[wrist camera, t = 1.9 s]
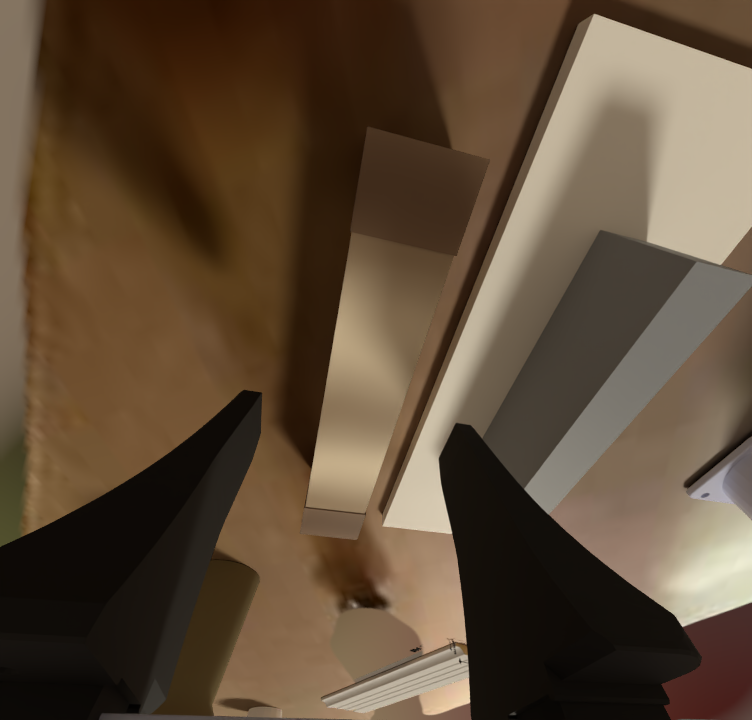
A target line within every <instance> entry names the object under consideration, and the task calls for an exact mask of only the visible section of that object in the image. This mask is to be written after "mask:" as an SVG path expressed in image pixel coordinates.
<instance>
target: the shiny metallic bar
mask: <svg viewBox="0 0 752 720" xmlns="http://www.w3.org/2000/svg"><path fill="white" fill-rule="evenodd" d="M489 162H490V160H489V159H486V158H482V157H478V156H475V155H471V154H467V153H464V152H460V151H456V150H453V149H449V148H445V147H442V146H438V145H434V144H431V143H427V142H423V141H420V140H416V139H412V138H409V137H405V136H401V135H398V134H394V133H390V132H387V131H383V130H379V129H376V128H372V127H368V126H367V132H366V138H365V144H364V150H363V156H362V162H361V168H360V174H359V180H358V186H357V192H356V198H355V204H354V210H353V216H352V222H351V228H350V232H352V234H351V240H350V246H349V252H348V258H347V263H346V269H345V275H344V281H343V287H342V293H341V299H340V305H339V311H338V317H337V323H336V329H335V335H334V341H333V346H332V352H331V358H330V364H329V370H328V376H327V382H326V388H325V394H324V400H323V406H322V412H321V418H320V424H319V429H318V435H317V441H316V447H315V453H314V459H313V464H312V470H311V475H310V480H309V485H308V491H307V496H306V501H305V506H304V512H303V518H302V524H301V530H300V534H306V535H316V536H326V537H335V538H345V539H354V540H357V538H358V535H359V533H360V530H361V527H362V524H363V521H364V518H365V515H366V509H367V506H368V503H369V500H370V497H371V494H372V492H373V489H374V486H375V483H376V480H377V477H378V474H379V471H380V468H381V466H382V463H383V460H384V457H385V454H386V451H387V448H388V445H389V442H390V440H391V437H392V434H393V431H394V428H395V425H396V422H397V419H398V416H399V414H400V411H401V408H402V405H403V402H404V399H405V396H406V393H407V390H408V388H409V385H410V382H411V379H412V376H413V373H414V370H415V367H416V365H417V362H418V359H419V356H420V353H421V350H422V347H423V344H424V341H425V339H426V336H427V333H428V330H429V327H430V324H431V321H432V318H433V315H434V313H435V310H436V307H437V304H438V301H439V298H440V295H441V292H442V289H443V287H444V284H445V281H446V278H447V275H448V272H449V269H450V266H451V263H452V261H453V258H454V256H457V253H458V250H459V247H460V244H461V241H462V239H463V236H464V233H465V230H466V227H467V224H468V221H469V219H470V216H471V213H472V210H473V207H474V204H475V202H476V199H477V196H478V193H479V190H480V187H481V184H482V182H483V179H484V176H485V173H486V170H487V167H488V164H489Z"/></svg>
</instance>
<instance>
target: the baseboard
mask: <svg viewBox="0 0 752 720" xmlns="http://www.w3.org/2000/svg"><path fill="white" fill-rule="evenodd" d="M452 642H453V641H452ZM420 647H422V645H421V646H420ZM419 650H421V648H418V647H416V649H412V650H410V651H412V652H416V651H419ZM467 678H469V668H468V652H467V646H466V645H463V644H459V643H453V644H450V645H448V646H446V647H443V648H441V649H439V650H436V651H434V652H431V653H429V654H426V655H424V656H423V651H421V652H418V653H416V654H413V655H411V656H409V657H406V658H404V659H402V660H400V661H397V662H395V663H392V664H390V665H387V666H385V667H383V668H380V669H378V670H376V671H373V672H371V673H368V674H366V675H364V676H361V677H359V678H357V679H354V682H355V683H356V684H354V685H351V686H349V687H347V688H344V689H342V690H339V691H337V692H334V693H332V694H330V695H327V696H325V697H322V698H321V701H324V702H325V704H326V706H327V707H329V708H332V707H334V708H337V709H345V710H353V711H354V712H360V713H366V712H369V711H372V710H375V709H377V708H381V707H383V706H386V705H389V704H392V703H395V702H398V701H401V700H404V699H407V698H410V697H413V696H416V695H419V694H422V693H425V692H428V691H431V690H434V689H437V688H440V687H443V686H446V685H449V684H452V683H455V682H458V681H461V680H464V679H467Z"/></svg>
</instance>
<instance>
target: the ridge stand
mask: <svg viewBox="0 0 752 720" xmlns="http://www.w3.org/2000/svg"><path fill="white" fill-rule="evenodd" d="M751 227H752V69H751V68H748V67H745V66H742V65H739V64H736V63H733V62H731V61H728V60H725V59H722V58H719V57H716V56H713V55H711V54H708V53H705V52H702V51H699V50H696V49H693V48H691V47H688V46H685V45H682V44H679V43H676V42H673V41H671V40H668V39H665V38H662V37H659V36H656V35H653V34H651V33H648V32H645V31H642V30H639V29H636V28H633V27H631V26H628V25H625V24H622V23H619V22H616V21H613V20H611V19H608V18H605V17H602V16H599V15H596V14H593V15H591V16H590V17H588V18H587V19H585V20H584V21H582V22H580V23H579V24H578V26H577V28H576V31H575V33H574V36H573V38H572V41H571V43H570V46H569V49H568V51H567V54H566V56H565V59H564V61H563V64H562V66H561V69H560V71H559V74H558V76H557V79H556V81H555V84H554V86H553V89H552V91H551V94H550V96H549V99H548V101H547V104H546V106H545V109H544V111H543V114H542V116H541V119H540V121H539V124H538V126H537V129H536V131H535V134H534V136H533V139H532V141H531V144H530V146H529V149H528V151H527V154H526V156H525V159H524V161H523V164H522V166H521V169H520V171H519V174H518V176H517V179H516V181H515V184H514V186H513V189H512V191H511V194H510V196H509V199H508V201H507V204H506V206H505V209H504V211H503V214H502V216H501V219H500V221H499V224H498V226H497V229H496V231H495V234H494V236H493V239H492V241H491V244H490V246H489V249H488V251H487V254H486V256H485V259H484V261H483V264H482V266H481V269H480V271H479V274H478V276H477V279H476V281H475V284H474V286H473V289H472V291H471V294H470V296H469V299H468V301H467V304H466V307H465V309H464V312H463V314H462V317H461V319H460V322H459V324H458V327H457V329H456V332H455V334H454V337H453V339H452V342H451V344H450V347H449V349H448V352H447V354H446V357H445V359H444V362H443V364H442V367H441V369H440V372H439V374H438V377H437V379H436V382H435V384H434V387H433V389H432V392H431V394H430V397H429V399H428V402H427V404H426V407H425V409H424V412H423V414H422V417H421V419H420V422H419V424H418V427H417V429H416V432H415V434H414V437H413V439H412V442H411V444H410V447H409V449H408V452H407V454H406V457H405V459H404V462H403V464H402V467H401V469H400V472H399V474H398V477H397V479H396V482H395V484H394V487H393V489H392V492H391V494H390V497H389V499H388V502H387V504H386V507H385V509H384V512H383V514H382V526H386V527H395V528H404V529H413V530H422V531H431V532H440V533H449V534H452V530H451V526H450V522H449V517H448V513H447V509H446V504H445V500H444V496H443V491H442V486H441V479H440V470H439V456H440V454H441V452H442V450H443V448H444V446H445V444H446V442H447V440H448V438H449V436H450V434H451V432H452V430H453V427H454V425H455V423H461V424H467V425H471V426H472V427H473V428H474V429H475V430H476V432H477V433H478V434H479V435H480V437H481V438H482V439H483V440H484V442H485V443H486V444H487V445H488V447H489V448H490V449H491V450H492V452H493V453H494V454H495V455H496V457H497V458H498V459H499V460H500V462H501V463H502V464H503V465H504V466H505V468H506V469H507V470H508V471H509V472H510V474H511V475H512V476H513V477H514V478H515V479H516V481H517V482H518V483H519V484H520V485H521V486H522V487H523V488H524V490H525V491H526V492H527V493H528V494H529V495H530V496H531V497H532V498H533V499H534V500H535V501H536V503H537V504H538V505H539V506H540V507H541V508H542V509H543V510H544V511H545V512H546V513H547V514H548V515H549V514H550V513H551V511H552V510H553V509H554V508H555V507H556V506H557V505H558V504H559V502H560V501H561V500H562V499H563V498H564V497H565V496H566V495H567V493H568V492H569V491H570V490H571V489H572V488H573V487H574V486H575V484H576V483H577V482H578V481H579V480H580V479H581V478H582V477H583V475H584V474H585V473H586V472H587V471H588V470H589V469H590V468H591V466H592V465H593V464H594V463H595V462H596V461H597V460H598V459H599V457H600V456H601V455H602V454H603V453H604V452H605V451H606V450H607V448H608V447H609V446H610V445H611V444H612V443H613V442H614V441H615V439H616V438H617V437H618V436H619V435H620V434H621V433H622V432H623V430H624V429H625V428H626V427H627V426H628V425H629V424H630V423H631V421H632V420H633V419H634V418H635V417H636V416H637V415H638V414H639V412H640V411H641V410H642V409H643V408H644V407H645V406H646V405H647V403H648V402H649V401H650V400H651V399H652V398H653V397H654V396H655V394H656V393H657V392H658V391H659V390H660V389H661V388H662V387H663V386H664V384H665V383H666V382H667V381H668V380H669V379H670V378H671V377H672V375H673V374H674V373H675V372H676V371H677V370H678V369H679V368H680V366H681V365H682V364H683V363H684V362H685V361H686V360H687V359H688V357H689V356H690V355H691V354H692V353H693V352H694V351H695V350H696V348H697V347H698V346H699V345H700V344H701V343H702V342H703V341H704V339H705V338H706V337H707V336H708V335H709V334H710V333H711V332H712V330H713V329H714V328H715V327H716V326H717V325H718V324H719V323H720V321H721V320H722V319H723V318H724V317H725V316H726V315H727V314H728V312H729V311H730V310H731V309H732V308H733V307H734V306H735V305H736V303H737V302H738V301H739V300H740V299H741V298H742V297H743V296H744V294H745V293H746V292H747V291H748V290H749V289H750V288H751V287H752V275H751V274H747V273H744V272H741V271H738V270H735V269H732V268H729V267H725V266H722V265H721V264H722V263H723V262H724V260H725V259H726V258H727V257H728V255H729V254H730V253H731V252H732V250H733V249H734V248H735V247H736V245H737V244H738V243H739V242H740V240H741V239H742V238H743V237H744V235H745V234H746V233H747V232H748V230H749V229H750V228H751Z"/></svg>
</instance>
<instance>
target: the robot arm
mask: <svg viewBox="0 0 752 720" xmlns="http://www.w3.org/2000/svg"><path fill="white" fill-rule="evenodd" d="M261 406H262V393H261V392H254V391H248V390H243V391H242V392H240V393H239V394H238V395H237V396H236V397H235V398H234V399H233V400H232V401H231V402H230V403H229V404H228V405H227V406H226V407H224V408H223V409H222V410H221V411H220V412H219V413H218V414H217V415H216V416H214V417H213V418H212V419H211V420H210V421H209V422H207V423H206V424H205V425H204V426H203V427H202V428H200V429H199V430H198V431H197V432H196V433H194V434H193V435H192V436H190V437H189V438H188V439H187V440H185V441H184V442H183V443H181V444H180V445H179V446H178V447H176V448H175V449H174V450H172V451H171V452H170V453H168V454H167V455H165V456H164V457H163V458H161V459H160V460H158V461H157V462H155V463H154V464H152V465H151V466H149V467H148V468H146V469H145V470H143V471H142V472H140V473H139V474H137V475H136V476H134V477H132V478H131V479H129V480H127V481H126V482H124V483H123V484H121V485H119V486H118V487H116V488H114V489H113V490H111V491H109V492H108V493H106V494H104V495H102V496H101V497H99V498H97V499H95V500H93V501H92V502H90V503H88V504H86V505H84V506H82V507H80V508H78V509H77V510H75V511H73V512H71V513H69V514H67V515H65V516H63V517H62V518H60V519H58V520H56V521H54V522H52V523H50V524H48V525H46V526H44V527H42V528H40V529H38V530H36V531H34V532H32V533H29V534H27V535H25V536H23V537H21V538H19V539H16V540H15V541H12V542H10V543H8V544H6V545H3V546H1V547H0V720H350V719H310V718H271V717H231V716H192V715H152V714H151V713H153V712H154V711H155V710H156V709H157V708H158V707H160V705H161V704H162V703H163V702H164V701H165V700H166V699H167V695H168V692H169V689H170V685H171V682H172V679H173V675H174V672H175V669H176V665H177V662H178V659H179V656H180V652H181V649H182V646H183V642H184V639H185V636H186V633H187V630H188V627H189V624H190V620H191V617H192V614H193V611H194V608H195V605H196V602H197V599H198V596H199V593H200V590H201V587H202V584H203V581H204V578H205V575H206V572H207V569H208V566H209V563H210V560H211V557H212V554H213V551H214V548H215V546H216V543H217V540H218V537H219V534H220V532H221V529H222V527H223V524H224V522H225V519H226V517H227V515H228V513H229V511H230V508H231V506H232V504H233V502H234V500H235V497H236V495H237V493H238V491H239V489H240V486H241V484H242V482H243V480H244V477H245V475H246V473H247V471H248V469H249V466H250V464H251V462H252V459H253V456H254V453H255V450H256V447H257V444H258V440H259V437H260V434H261ZM439 470H440V479H441V486H442V491H443V496H444V500H445V504H446V509H447V513H448V517H449V522H450V526H451V530H452V535H453V539H454V543H455V548H456V554H457V559H458V567H459V574H460V582H461V590H462V599H463V608H464V617H465V629H466V640H467V652H468V668H469V685H470V704H471V719H472V720H671V719H670V717H669V715H668V713H667V711H666V709H665V708H664V706H663V705H668V704H670V702H669V698H668V696H667V694H666V693H665V691H664V689H663V687H662V685H661V684H662V683H665V682H668V681H670V680H672V679H675V678H677V677H680V676H682V675H684V674H687V673H689V672H691V671H693V670H695V669H696V668H697V667H699V666H700V663H701V659H702V657H701V655H700V654H699V652H698V651H697V649H696V648H695V646H694V644H693V643H692V642H691V640H690V638H689V637H688V635H687V634H686V632H685V631H684V629H683V628H682V626H681V625H680V623H679V621H678V620H677V618H676V617H675V616H674V615H673V614H672V613H671V612H669V611H668V610H666V609H665V608H664V607H662V606H661V605H659V604H658V603H656V602H655V601H654V600H652V599H651V598H649V597H648V596H647V595H645V594H644V593H642V592H641V591H640V590H638V589H637V588H635V587H634V586H632V585H631V584H630V583H628V582H627V581H626V580H624V579H623V578H622V577H621V576H619V575H618V574H617V573H615V572H614V571H613V570H612V569H610V568H609V567H608V566H606V565H605V564H604V563H603V562H601V561H600V560H599V559H598V558H597V557H595V556H594V555H593V554H592V553H590V552H589V551H588V550H587V549H586V548H585V547H583V546H582V545H581V544H580V543H579V542H578V541H577V540H575V539H574V538H573V537H572V536H571V535H570V534H569V533H567V532H566V531H565V530H564V529H563V528H562V527H561V526H560V525H559V524H558V523H557V522H556V521H555V520H554V519H553V518H552V517H551V516H549V515H548V514H547V513H546V512H545V511H544V510H543V509H542V508H541V507H540V506H539V505H538V504H537V503H536V501H535V500H534V499H533V498H532V497H531V496H530V495H529V494H528V493H527V492H526V491H525V490H524V488H523V487H522V486H521V485H520V484H519V483H518V482H517V481H516V479H515V478H514V477H513V476H512V475H511V474H510V472H509V471H508V470H507V469H506V468H505V466H504V465H503V464H502V463H501V462H500V460H499V459H498V458H497V457H496V455H495V454H494V453H493V452H492V450H491V449H490V448H489V447H488V445H487V444H486V443H485V442H484V440H483V439H482V438H481V437H480V435H479V434H478V433H477V432H476V430H475V429H474V428H473V427H472V426H471V425H467V424H461V423H455V425H454V427H453V430H452V432H451V434H450V436H449V438H448V440H447V442H446V444H445V446H444V448H443V450H442V452H441V454H440V456H439ZM686 493H687V494H688V495H689V496H690V497H691V498H694V499H701V500H708V501H715V502H722V503H730V504H735V505H737V506H738V507H739V508H740V509H741V510H742V511H743V512H744V513H745V514H746V515H747V516H748V517H749V518H750V519H751V520H752V436H751V437H750V438H748V439H747V440H746V441H745V442H744V443H742V444H741V445H740V446H739V447H737V448H736V449H735V450H734V451H733V452H731V453H730V454H729V455H728V456H727V457H725V458H724V459H723V460H722V461H721V462H719V463H718V464H717V465H716V466H715V467H713V468H712V469H711V470H710V471H709V472H707V473H706V474H705V475H704V476H703V477H701V478H700V479H699V480H698V481H696V482H695V483H694V484H693V485H692V486H690V487H689V488H688V489H687V491H686ZM680 720H700V719H680ZM702 720H703V719H702Z"/></svg>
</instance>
